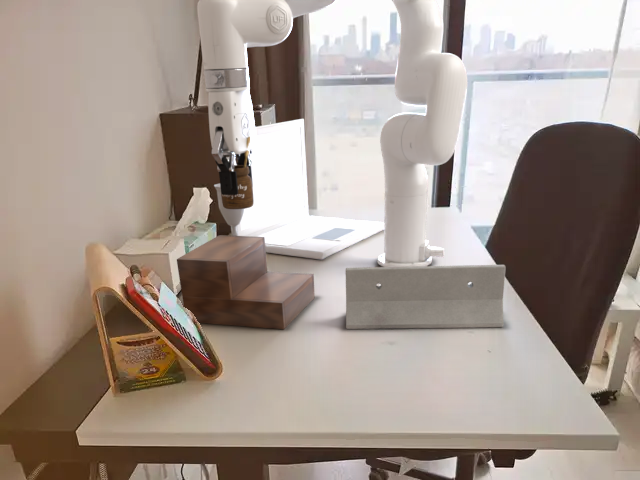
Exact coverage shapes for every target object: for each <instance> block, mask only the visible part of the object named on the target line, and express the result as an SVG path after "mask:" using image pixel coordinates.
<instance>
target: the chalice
mask: <svg viewBox="0 0 640 480" xmlns="http://www.w3.org/2000/svg"><path fill="white" fill-rule="evenodd" d="M213 187H214V189H215V190H216V195H217V202H218V209H219V211H220V214H221V215H222V217H223V219H224V221H225V222H226V224H227V225H228V226H230V227H231V226H232V229H233V230H232V231H231V236H238V233H237V230H236V227H237V225H239V224H240V222H241V219H242V216H243V213H244V209H226V208H224V207H223V204H222V197H221V187H220V182H219V183H216V184H214V185H213Z"/></svg>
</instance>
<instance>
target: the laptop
mask: <svg viewBox="0 0 640 480" xmlns="http://www.w3.org/2000/svg"><path fill="white" fill-rule="evenodd" d="M255 132H256V142H257V144H256V147H255V148H254V149H253V150H251V151H252V154H251V160H252V164H251V165H249V166H251V170H252V182H253V198H254V204H253V206H252V207H250V208H245V209H244V213H243V216H242V219H241V222H240V224H239V225H237V227H236V230H237V233H238V236H253V237H264V238H265V250H266V254H274V255H283V256H289V257H290V256H291V257H298V258H305V259H306V258H307V259H313V260H324V259H325V258H328V257H330V256H332V255H334V254H336V253H338V252H340V251H343V250H344V249H346V248H349V247H351V246H353V245H355V244H357V243H359V242H361V241H363V240H365V239H367V238H369V237H372V236H374V235H376V234H378V233H380V232H382V231H384V221H377V220H366V219H356V218H355V219H354V218H344V217H343V218H342V217H334V216H333V217H332V216H321V215H310V214H309V213H310V212H309V211H310V210H309V195H308V193H309V192H308V176H307V175H308V173H307V171H308V170H307V158H306V157H307V153H306V136H305V132H306V131H305V119H304V118H299V119H293V120H287V121H282V122H276V123H269V124H265V125H258V126H255ZM228 152H229V151H228ZM239 155H240V154H239ZM226 158H227V157H226ZM228 158H229V157H228ZM228 158H227V160H228ZM228 162H229V160H228ZM234 165H237V164H236V161H235V162H234ZM232 230H233V229H232V226H230V231H231V232H232Z"/></svg>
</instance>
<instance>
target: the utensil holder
mask: <svg viewBox="0 0 640 480" xmlns="http://www.w3.org/2000/svg"><path fill="white" fill-rule="evenodd" d="M250 138H251V137H248V138H247V148H248V146H249V144H250ZM226 152H227V151H226ZM229 152H230V150H229ZM248 154H249V150H248V151H246V152H245V162H244V165H234V171H236V172H237V183H238V194H237V195H222V194H221V197H222V204H223V207H224V208H226V209H245V208H250V207H252V206H253V204H254V198H253V186H252V180H251V177H250V176H248V174H249V167H248V166H246V162H247V156H248ZM227 158H228V157H227ZM228 160H229V158H228Z"/></svg>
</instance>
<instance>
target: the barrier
mask: <svg viewBox="0 0 640 480" xmlns="http://www.w3.org/2000/svg"><path fill="white" fill-rule="evenodd" d="M506 269H507V268H506V265H505V264H473V265H472V264H471V265H470V264H469V265H468V264H466V265H465V264H463V265H428V266H412V267H383V266H371V267H370V266H369V267H368V266H367V267H364V266H363V267H346V268H345V329H347V330H356V329H357V330H361V329H362V330H368V329H369V330H370V329H371V330H375V329H377V330H381V329H385V330H386V329H453V328H454V329H455V328H457V329H461V328H462V329H464V328H467V329H468V328H504V292H505V282H506V281H505V280H506ZM469 283H470V284H469Z"/></svg>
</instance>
